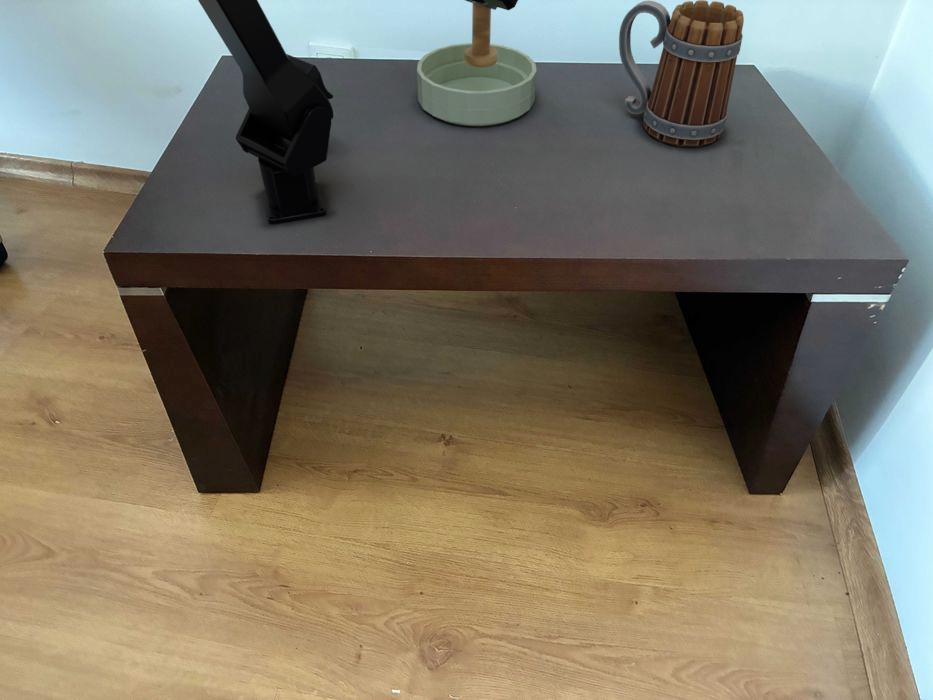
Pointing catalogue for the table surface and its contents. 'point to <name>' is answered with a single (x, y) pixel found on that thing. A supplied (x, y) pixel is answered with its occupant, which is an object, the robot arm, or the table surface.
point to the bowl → (476, 86)
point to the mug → (686, 70)
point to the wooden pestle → (480, 39)
